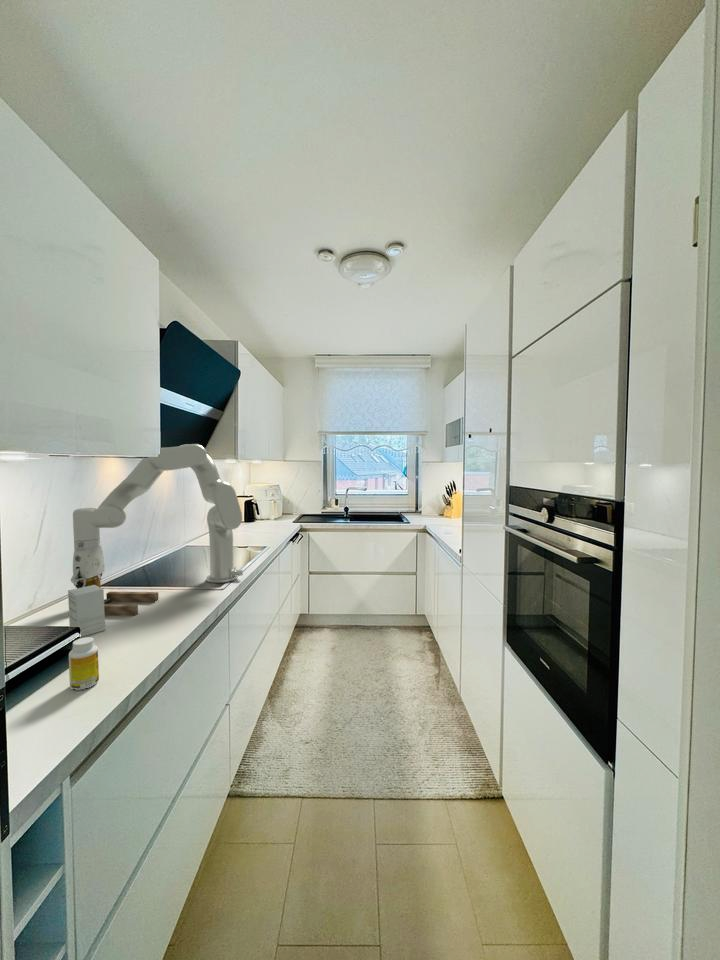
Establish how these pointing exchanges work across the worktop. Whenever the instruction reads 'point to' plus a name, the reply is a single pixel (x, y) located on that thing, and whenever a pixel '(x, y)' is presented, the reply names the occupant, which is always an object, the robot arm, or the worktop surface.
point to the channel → (127, 597)
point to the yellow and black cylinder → (94, 583)
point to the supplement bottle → (83, 664)
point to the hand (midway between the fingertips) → (89, 595)
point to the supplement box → (87, 609)
